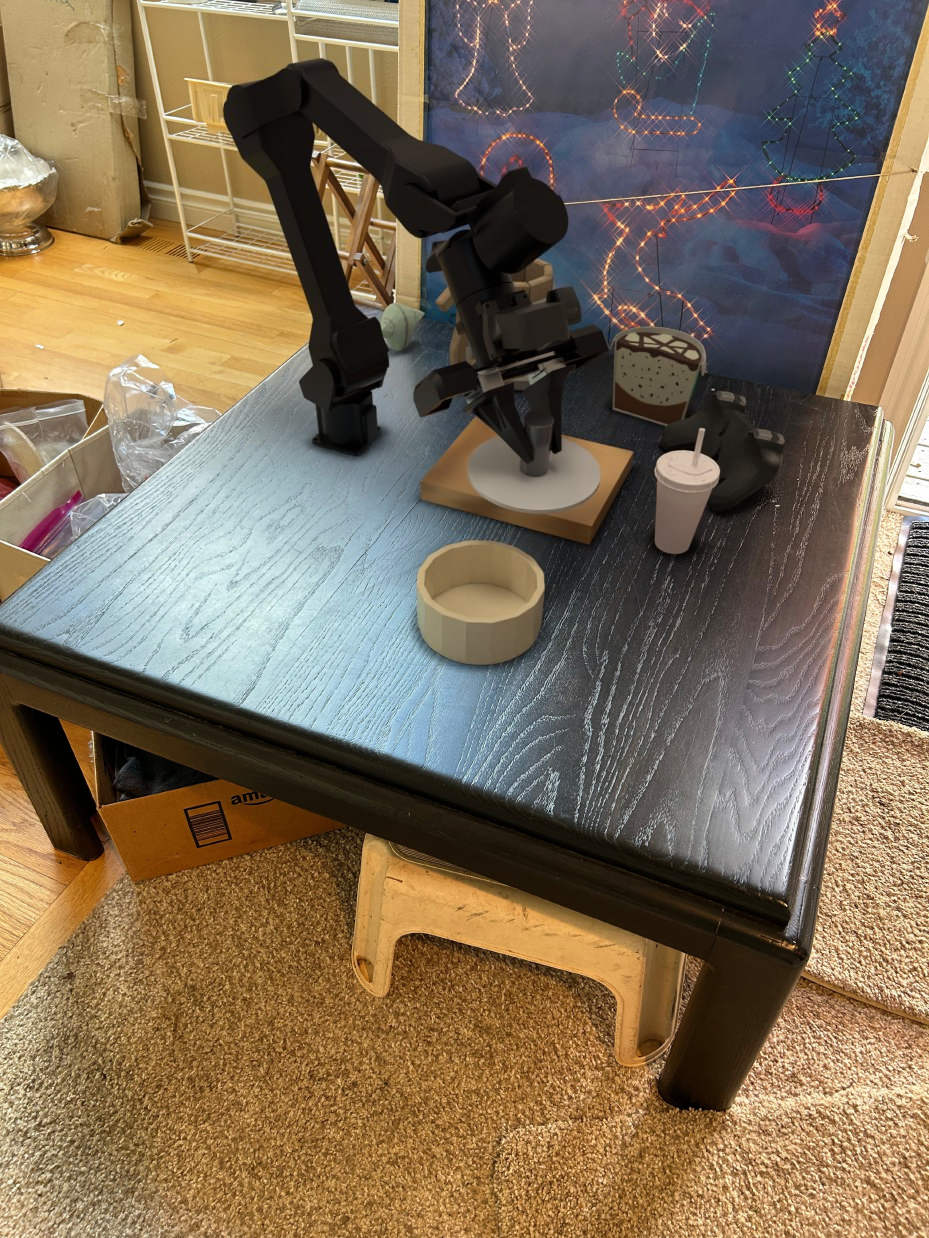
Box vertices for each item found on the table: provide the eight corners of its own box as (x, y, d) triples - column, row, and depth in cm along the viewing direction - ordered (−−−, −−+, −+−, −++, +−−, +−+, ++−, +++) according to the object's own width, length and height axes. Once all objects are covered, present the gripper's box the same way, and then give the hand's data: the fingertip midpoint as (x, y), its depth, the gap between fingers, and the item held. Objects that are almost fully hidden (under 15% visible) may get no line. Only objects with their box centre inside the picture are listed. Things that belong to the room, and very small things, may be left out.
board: (420, 499, 102) (420, 481, 100) (476, 432, 113) (476, 414, 111) (589, 544, 96) (591, 526, 95) (630, 469, 107) (633, 451, 106)
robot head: (386, 363, 126) (384, 317, 122) (367, 353, 128) (364, 307, 124) (428, 346, 130) (428, 300, 126) (410, 336, 132) (408, 291, 128)
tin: (397, 642, 85) (395, 599, 81) (449, 570, 93) (449, 528, 89) (513, 680, 82) (516, 637, 78) (557, 601, 90) (561, 559, 86)
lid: (449, 502, 84) (450, 442, 79) (487, 431, 93) (491, 373, 88) (584, 531, 81) (593, 471, 77) (610, 455, 90) (620, 396, 86)
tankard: (508, 340, 132) (513, 235, 122) (572, 370, 125) (583, 262, 115) (404, 384, 122) (400, 274, 112) (468, 420, 115) (470, 306, 105)
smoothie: (701, 565, 94) (730, 450, 85) (640, 557, 95) (661, 442, 85) (702, 529, 99) (729, 416, 89) (643, 521, 100) (664, 408, 90)
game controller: (755, 530, 103) (812, 458, 98) (712, 515, 100) (769, 440, 95) (692, 455, 115) (740, 387, 110) (652, 439, 111) (700, 369, 106)
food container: (708, 413, 117) (724, 340, 110) (690, 434, 113) (706, 360, 107) (622, 387, 122) (632, 316, 115) (602, 406, 118) (611, 334, 111)
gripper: (429, 281, 72) (498, 466, 73) (612, 237, 79) (672, 406, 80) (385, 332, 82) (446, 494, 83) (550, 289, 89) (604, 438, 91)
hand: (544, 457), depth 84 cm, fingers closed on lid, 3 cm apart
